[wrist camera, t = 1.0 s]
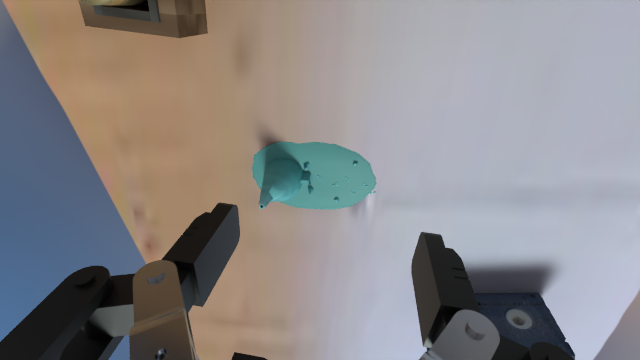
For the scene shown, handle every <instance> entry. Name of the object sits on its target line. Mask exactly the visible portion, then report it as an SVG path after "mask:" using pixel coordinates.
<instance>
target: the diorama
mask: <svg viewBox="0 0 640 360" xmlns="http://www.w3.org/2000/svg"><path fill="white" fill-rule="evenodd" d="M252 170H253V177H254V179H255V180H256V182H257V184H258V186H259V188H260V189H261V195H260V201H259V206H260V209H262V208H265V207H266V206H267V205H268V204H269V202H275V201H279V202H281V203H284V204H287V205H290V206H293V207H298V208H309V209H338V208H344V207H349V206H352V205H354V204H355V203H357V202H359V201H361V200H363V199H364V198H365V197H366V196H367V195H368V194H369V193H370V194H371V193H372V192H371V191H372V190H373V189H374V188H375V185H376V178H375V176H374V174H373V172H372V169H371V165H370V163H369V162H368V161H366V160H365V159H364V158H363V157H362V156H361V155H360V154H358V153H356V152H354V151H351V150H349V149H346V148H344V147H341V146H339V145H336V144H327V143H320V142H311V143H302V144H297V143H292V142H277V143H274V144H271V145H269V146H266V147H265V148H263V149H262V150H260V151H259V152H258V153H256V154H255V155H254V163H253V166H252ZM373 193H376V192H375V191H374V192H373Z"/></svg>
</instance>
